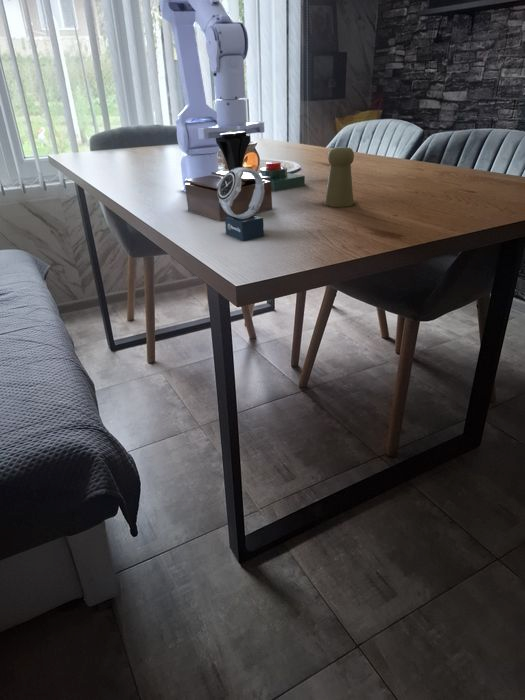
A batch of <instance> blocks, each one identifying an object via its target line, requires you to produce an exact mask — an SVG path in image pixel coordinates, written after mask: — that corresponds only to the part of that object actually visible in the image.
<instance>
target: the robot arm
mask: <svg viewBox="0 0 525 700" xmlns="http://www.w3.org/2000/svg"><path fill="white" fill-rule="evenodd" d="M158 3H159V9H160V12H161V17H162V19H164V20H165V21H167V22H168V23H169V24H170V29H171V32H172V37H173V42H174V48H175V53H176V59H177V66H178V71H179V77H180V82H181V89H182V94H183V101H184V106H185V107H184V108H183V110H181V111H180V112H179V113H178V114H177V116H176V120H175V126H176V139H177V140H176V141H177V144H178V147H179V149H180V151H182V152H183V153H184V154H183V155H182V157H181V159H180V172H181V179H182V188H180V189H179V191H180V192H185V193H186V189H185V184H187V183H188V182H185V180H186V179H192V178H198V177H204V176H210V175H212V176H217V177H220V176H219V175H214V174H211V172H220V171H219V157H218V153H219V152H220V151H221V153H222V156H223V157H224V160H225V163H226V166H227V169H228V171H231V170H233V169H235V168H239V167H242V168H243V163H244V159H245V155H246V152H247V149H248V147H249V145H250V143H251V135H250V134H257V133H259V134H260V133H265V121H250V122H248V121H247V120H248V119H247V101H246V82H245V79H246V78H245V63H244V60H245V59H246V58H247V57H248V51H249V35H248V31H247V28H246V26H245V23H244V22H242V21H233V19H232V18H231V16H230V15H229V14H228V12H227V11H226V8H224V5H223V4H222V2H221V1H220V0H158ZM195 25H197V26H198V28H199V30H200V32H201V33H202V35H203V37H204V38H205V47H206V54H207V57H208V59H209V60H208V61H209V69H210V72H212V73H213V85H214V86H213V87H214V99H215V109H213V108H212V107H211V106H210V105H208V104H207V98H206V93H205V86H204V79H203V73H202V68H201V61H200V56H199V49H198V43H197V36H196V30H195Z"/></svg>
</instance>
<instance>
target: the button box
mask: <svg viewBox="0 0 525 700" xmlns="http://www.w3.org/2000/svg"><path fill="white" fill-rule="evenodd" d="M258 173H259V174H260V175H261V176H267V177H271V179H266V181H271V190H272V192H278V191H282V190H286V189H291V188H295V187H300V186H305V185H306V181H305V180H306V179H305V178H306V176H305V175H302V174H295V173H290V172H288V168H287V166H282V165H281V169H278V170H266V166H264V167H261V168H260V169H259V172H258Z"/></svg>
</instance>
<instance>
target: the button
mask: <svg viewBox="0 0 525 700" xmlns="http://www.w3.org/2000/svg"><path fill="white" fill-rule="evenodd" d="M281 162H282V161H278V160H277V161H266V162H265V167H266V170H278V169H281V166H282V165H281Z"/></svg>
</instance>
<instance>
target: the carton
mask: <svg viewBox="0 0 525 700" xmlns="http://www.w3.org/2000/svg"><path fill="white" fill-rule="evenodd" d="M222 177H223V176H219V177H217V176H212V175H210V176H204V177H198V178H192V179H186V180H185V182H188V183H187V184H185V189H186V192H185V197H186V205H187V212H190V213H192V214H196V215H199V216H201V217H205V218H210V219H212V220H215V221H218V222H223V221H225V216H229V214H227V213H226V212H225V211H224V210H223V208H222V206H221V203H220V201H219V198H218V194H217V191H218V185H219V183H220V180H221V179H222ZM263 182H264V190H265V192H264V197H263V201H262V203H261V206H260V208H259V210H258V212H256V213H255V214H257V213H259V212H260V213H261V212H264V211H268V210H272V209H273V195H272V193H273V191H272V190H271V181H266V180H263ZM255 185H256V181H255V180H251V181H244V180H241V191H240V192H239V194H238V195H237V196H236V198H235V199H234V200H233V203H232V206H231V207H230V208H231V210H232V212H233V213H234V214H238V213H243V212H246V211H248V209H249V204H250V202H251V200H252V197H253V193H254V189H255Z"/></svg>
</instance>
